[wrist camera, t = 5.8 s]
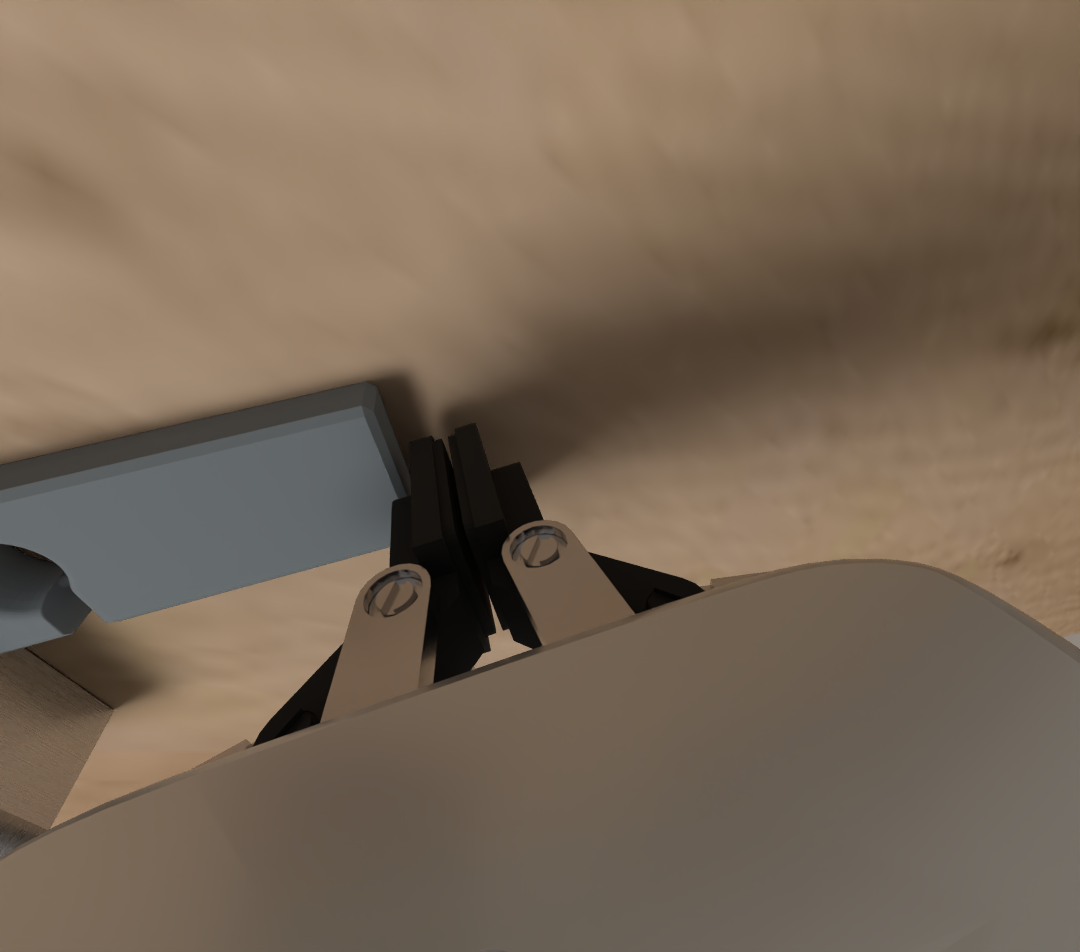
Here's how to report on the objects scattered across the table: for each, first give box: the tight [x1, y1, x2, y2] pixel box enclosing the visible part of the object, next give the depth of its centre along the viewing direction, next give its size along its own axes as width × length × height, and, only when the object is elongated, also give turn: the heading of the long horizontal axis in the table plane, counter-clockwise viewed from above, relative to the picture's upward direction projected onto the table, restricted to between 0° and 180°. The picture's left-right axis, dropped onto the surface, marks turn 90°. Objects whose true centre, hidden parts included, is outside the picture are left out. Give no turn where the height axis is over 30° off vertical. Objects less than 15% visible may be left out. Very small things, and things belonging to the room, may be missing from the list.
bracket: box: [0, 382, 411, 654], centre depth 11 cm, size 4×10×2 cm, turn 99°
